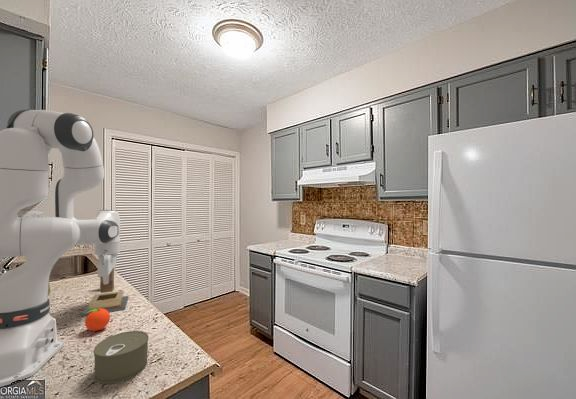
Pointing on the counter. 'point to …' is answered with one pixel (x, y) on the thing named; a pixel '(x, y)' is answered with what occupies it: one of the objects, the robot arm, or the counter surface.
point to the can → (120, 357)
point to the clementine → (97, 319)
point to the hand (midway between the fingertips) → (107, 282)
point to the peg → (110, 285)
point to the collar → (107, 302)
